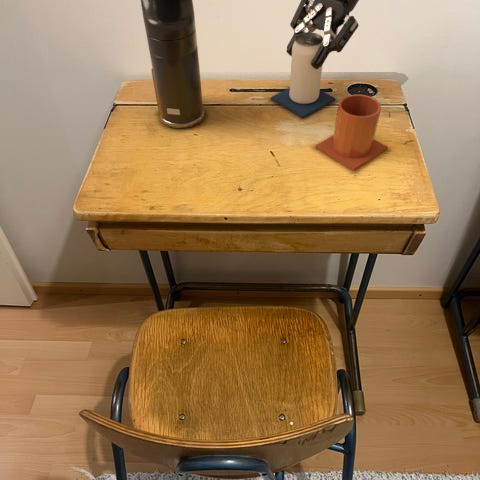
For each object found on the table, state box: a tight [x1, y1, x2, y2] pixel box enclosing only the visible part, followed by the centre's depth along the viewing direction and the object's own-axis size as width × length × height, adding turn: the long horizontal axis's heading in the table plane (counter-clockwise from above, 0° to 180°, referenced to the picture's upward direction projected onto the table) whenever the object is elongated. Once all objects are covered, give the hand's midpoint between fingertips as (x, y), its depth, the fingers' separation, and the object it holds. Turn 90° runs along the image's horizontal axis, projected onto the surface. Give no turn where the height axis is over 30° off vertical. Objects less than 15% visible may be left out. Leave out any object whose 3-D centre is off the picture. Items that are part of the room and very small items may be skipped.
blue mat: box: [270, 87, 336, 119], centre depth 102 cm, size 10×10×1 cm
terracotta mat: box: [315, 135, 389, 172], centre depth 92 cm, size 10×10×1 cm
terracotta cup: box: [332, 93, 382, 158], centre depth 88 cm, size 8×8×9 cm
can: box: [289, 32, 324, 104], centre depth 97 cm, size 6×6×12 cm
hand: (301, 60), depth 94 cm, fingers closed on can, 6 cm apart
